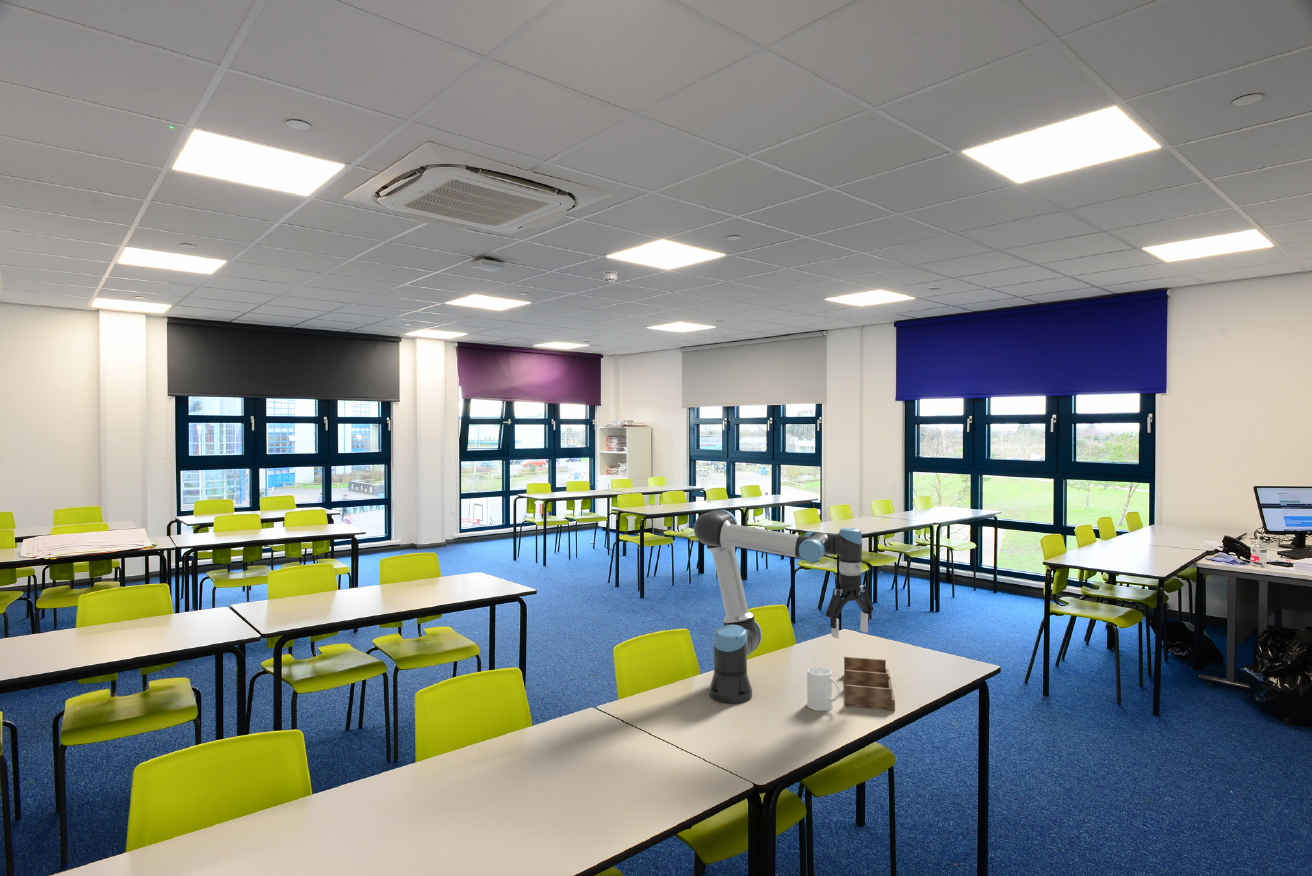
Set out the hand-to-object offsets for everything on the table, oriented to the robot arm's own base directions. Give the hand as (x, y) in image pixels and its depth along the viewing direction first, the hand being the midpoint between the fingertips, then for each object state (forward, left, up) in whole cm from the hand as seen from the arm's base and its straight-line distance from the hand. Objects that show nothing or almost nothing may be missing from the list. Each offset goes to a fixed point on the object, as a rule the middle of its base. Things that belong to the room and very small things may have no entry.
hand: (849, 634), depth 231 cm
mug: (-9, -9, -23) cm, 26 cm away
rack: (+6, +9, -23) cm, 25 cm away
